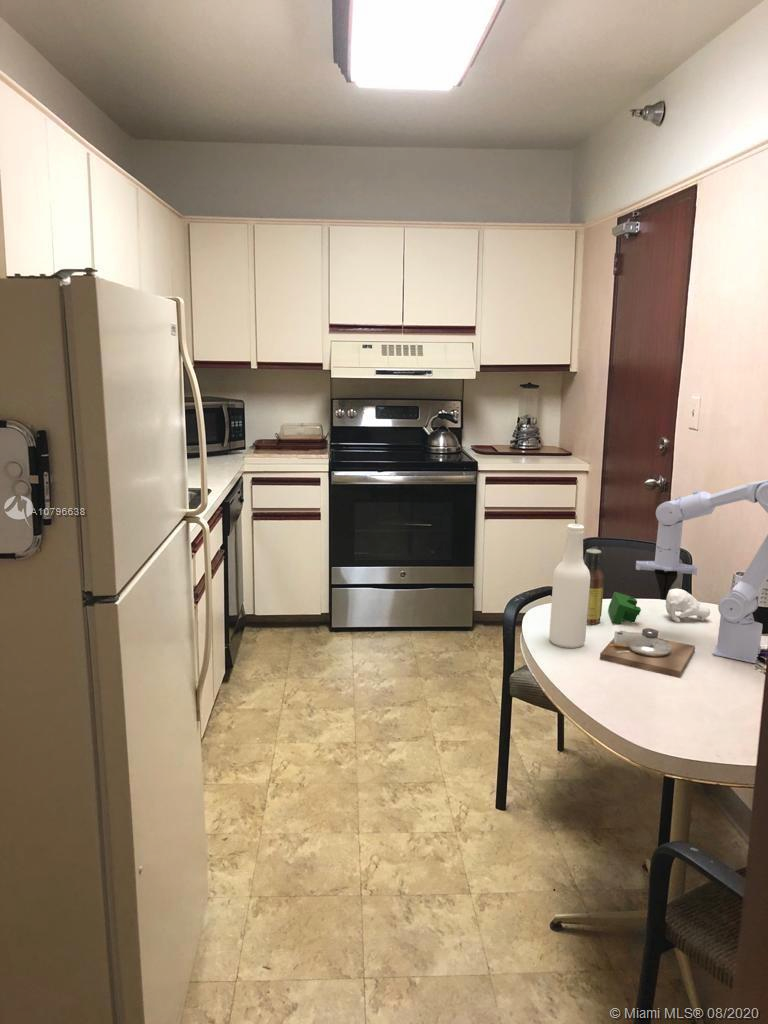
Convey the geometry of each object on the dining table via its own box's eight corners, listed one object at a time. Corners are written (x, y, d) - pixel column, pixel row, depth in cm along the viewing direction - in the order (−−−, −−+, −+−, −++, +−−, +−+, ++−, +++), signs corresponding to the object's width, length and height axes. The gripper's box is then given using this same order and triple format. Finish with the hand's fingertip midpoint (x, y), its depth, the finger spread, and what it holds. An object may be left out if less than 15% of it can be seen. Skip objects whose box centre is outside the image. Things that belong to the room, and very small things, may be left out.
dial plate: (694, 651, 183) (695, 645, 182) (679, 677, 168) (680, 670, 167) (620, 635, 192) (620, 629, 192) (599, 659, 177) (600, 652, 177)
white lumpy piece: (665, 584, 207) (709, 590, 206) (659, 613, 209) (703, 619, 208) (672, 591, 201) (717, 598, 200) (665, 621, 202) (710, 628, 202)
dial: (664, 641, 184) (666, 624, 183) (676, 657, 174) (678, 639, 173) (610, 638, 185) (611, 621, 184) (619, 654, 175) (620, 636, 174)
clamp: (629, 639, 202) (641, 615, 197) (607, 632, 203) (619, 608, 197) (629, 609, 211) (641, 586, 206) (608, 603, 212) (620, 580, 207)
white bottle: (553, 648, 183) (562, 529, 176) (545, 635, 191) (553, 521, 185) (589, 649, 183) (599, 529, 177) (579, 635, 192) (588, 521, 185)
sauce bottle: (582, 615, 206) (588, 545, 202) (604, 620, 203) (610, 550, 198) (572, 621, 202) (577, 550, 197) (594, 627, 198) (600, 554, 194)
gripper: (639, 548, 188) (634, 600, 190) (701, 553, 184) (695, 606, 187) (637, 542, 194) (632, 592, 197) (696, 546, 191) (691, 597, 194)
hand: (662, 598), depth 193 cm, fingers closed
